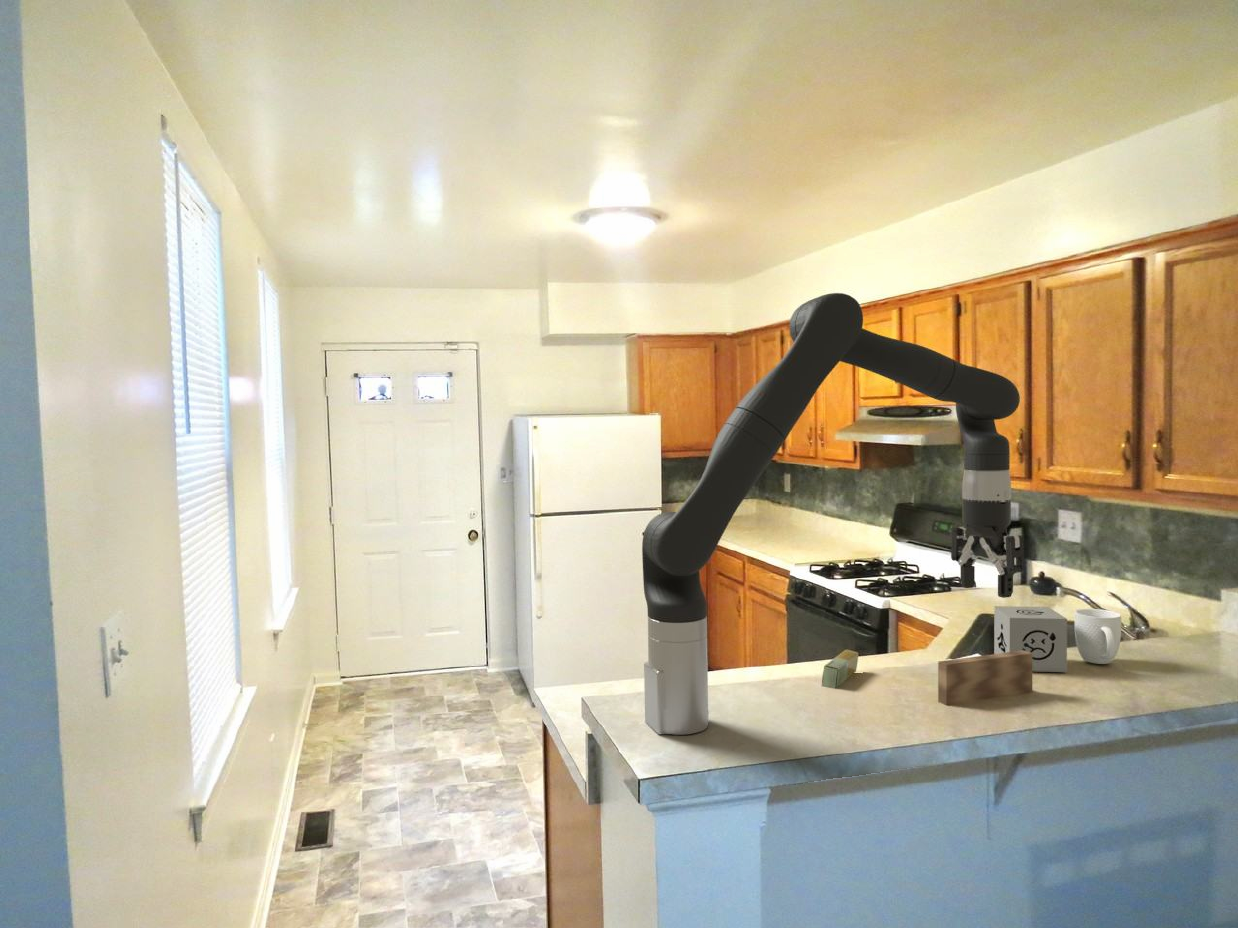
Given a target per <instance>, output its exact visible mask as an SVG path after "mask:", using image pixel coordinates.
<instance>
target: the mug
mask: <svg viewBox="0 0 1238 928" xmlns="http://www.w3.org/2000/svg"><path fill="white" fill-rule="evenodd" d="M1073 625H1074V636H1075V637H1074V639H1075V643H1076V648H1077V650H1078V653H1079V655H1080V657H1081V658H1082V660H1083V661H1085V662H1088V663H1091V664H1098V665H1107V664H1111V663H1112V662H1113V661H1114V659H1115V658H1116V657H1117V655H1118V651H1119V649H1120V645H1121V640H1122V639H1121V637H1122V636H1121V635H1122V615H1121V614H1120V613H1118V612H1117V611H1116V612H1115V611H1111V610H1106V609H1098V608H1096V609H1095V608H1079V609H1076V610H1075V611H1074V624H1073Z"/></svg>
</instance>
